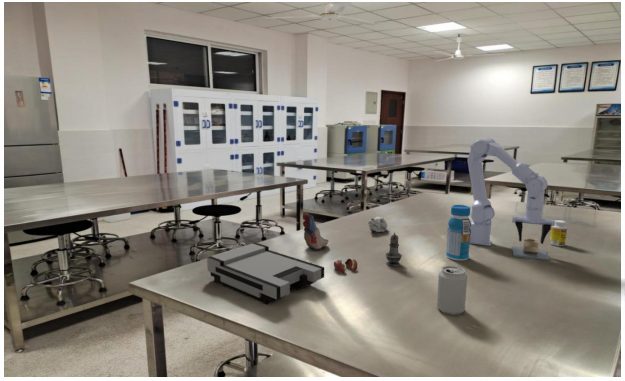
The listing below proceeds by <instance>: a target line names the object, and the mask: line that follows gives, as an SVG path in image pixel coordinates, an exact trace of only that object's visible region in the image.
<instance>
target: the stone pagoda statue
mask: <svg viewBox="0 0 625 381" xmlns="http://www.w3.org/2000/svg"><path fill="white" fill-rule="evenodd" d="M389 240H390V241H389V242H390V243H389V244H388V246H389V250H388V251H389V252H387V253H385V257H386V260H387V262H386V263H385V265H386V266H388V267H392V268H397V267H401V263H400V260H401V259H402V257H403V255H402V254H401V253H399V247H400V244H399V236H398V235H397V234H396V232H393V234H392V235H391V236H390V239H389Z"/></svg>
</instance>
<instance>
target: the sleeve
mask: <svg viewBox="0 0 625 381" xmlns="http://www.w3.org/2000/svg"><path fill="white" fill-rule="evenodd" d="M522 247H523V252H524V253H525V254H533V255H537V252H538V249H539V240H538V239H537V238H529V237H523V245H522Z"/></svg>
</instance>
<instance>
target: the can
mask: <svg viewBox="0 0 625 381" xmlns="http://www.w3.org/2000/svg"><path fill="white" fill-rule="evenodd" d="M467 283H468V274H466V270H465V269H464V268H463V267H459V266H458V265H457V266H456V265H445V266H441V270H440V271H438V280H437V293H436V294H437V296H436V307H437V308H438V309H439V311H441V313H444V314H447V315H451V316H452V315H453V316H456V315H461V314H462V313H463V312H464V311H465V310H466V302H467V298H466V297H467V286H468V284H467Z"/></svg>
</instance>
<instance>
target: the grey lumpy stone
mask: <svg viewBox="0 0 625 381" xmlns="http://www.w3.org/2000/svg"><path fill="white" fill-rule="evenodd" d="M367 222H368V223H367V224H368V227H369V230H370V231H371V232H376V233H385V231H386V230H387V229H388V223H387V220H385V219H384V217H383V216H375V217H374V218H371V219H369V220H368V221H367Z"/></svg>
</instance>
